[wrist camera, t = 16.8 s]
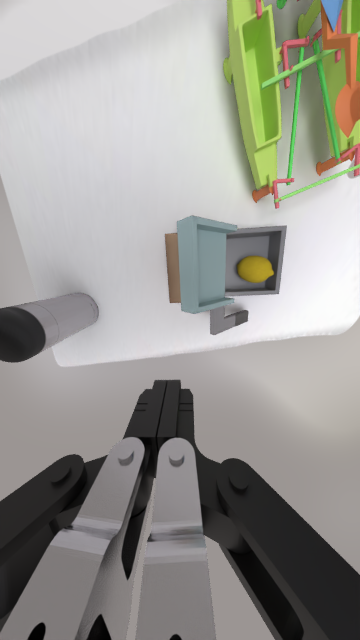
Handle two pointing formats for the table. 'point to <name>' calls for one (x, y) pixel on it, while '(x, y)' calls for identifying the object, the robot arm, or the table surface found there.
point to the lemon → (254, 269)
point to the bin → (254, 244)
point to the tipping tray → (205, 271)
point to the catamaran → (263, 83)
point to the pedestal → (173, 267)
